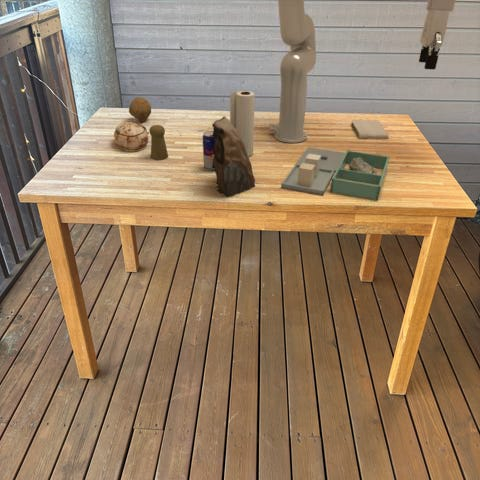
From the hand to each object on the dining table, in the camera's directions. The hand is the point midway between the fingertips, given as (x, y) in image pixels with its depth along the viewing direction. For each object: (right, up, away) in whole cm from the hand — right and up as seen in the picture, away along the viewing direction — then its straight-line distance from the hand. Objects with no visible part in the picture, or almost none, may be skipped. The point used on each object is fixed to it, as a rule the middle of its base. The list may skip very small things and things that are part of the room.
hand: (426, 65), depth 143 cm
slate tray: (-34, -32, +6) cm, 48 cm away
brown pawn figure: (-87, -26, +14) cm, 92 cm away
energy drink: (-69, -32, +6) cm, 76 cm away
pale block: (-36, -34, +2) cm, 50 cm away
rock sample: (-19, -34, +4) cm, 39 cm away
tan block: (-39, -38, -4) cm, 55 cm away
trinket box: (-99, -20, +24) cm, 104 cm away
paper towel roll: (-58, -25, +17) cm, 65 cm away
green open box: (-21, -36, 0) cm, 42 cm away
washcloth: (-8, -12, +38) cm, 41 cm away
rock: (-61, -39, -5) cm, 73 cm away
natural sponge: (-101, -6, +46) cm, 111 cm away
